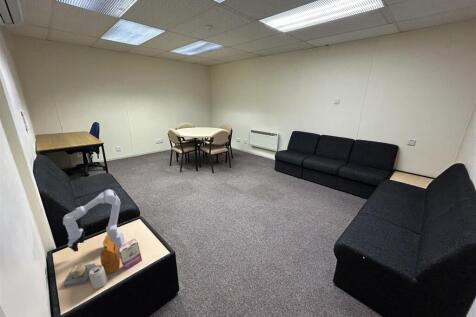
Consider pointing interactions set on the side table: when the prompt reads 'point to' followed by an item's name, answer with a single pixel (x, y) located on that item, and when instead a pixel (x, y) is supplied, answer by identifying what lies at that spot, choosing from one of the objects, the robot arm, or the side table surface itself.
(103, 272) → the can
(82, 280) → the housing
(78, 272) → the jaw block
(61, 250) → the side table surface
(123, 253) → the candy bar box
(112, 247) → the coffee package
